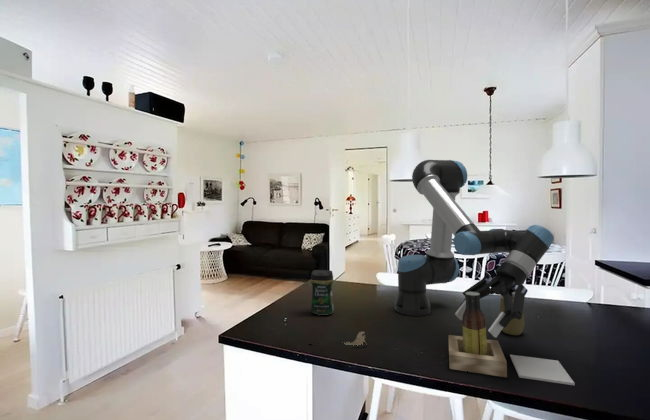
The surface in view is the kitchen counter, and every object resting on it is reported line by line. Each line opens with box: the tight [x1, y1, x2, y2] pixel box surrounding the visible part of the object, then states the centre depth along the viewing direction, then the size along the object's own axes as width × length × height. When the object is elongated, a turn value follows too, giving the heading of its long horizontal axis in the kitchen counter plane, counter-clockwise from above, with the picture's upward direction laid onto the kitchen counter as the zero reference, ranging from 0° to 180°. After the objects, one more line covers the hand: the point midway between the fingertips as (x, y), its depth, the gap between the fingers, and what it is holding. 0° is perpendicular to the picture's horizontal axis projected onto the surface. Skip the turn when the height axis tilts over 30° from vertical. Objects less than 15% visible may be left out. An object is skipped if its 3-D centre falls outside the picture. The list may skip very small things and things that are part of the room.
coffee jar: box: [310, 269, 335, 314], centre depth 135 cm, size 10×8×19 cm
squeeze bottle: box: [498, 292, 525, 336], centre depth 111 cm, size 8×8×18 cm
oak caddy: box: [448, 334, 508, 378], centre depth 92 cm, size 14×14×4 cm
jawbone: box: [344, 331, 367, 346], centre depth 104 cm, size 9×20×2 cm, turn 107°
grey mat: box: [509, 354, 575, 386], centre depth 86 cm, size 12×12×1 cm
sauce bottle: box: [461, 292, 487, 356], centre depth 92 cm, size 6×6×20 cm
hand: (473, 325), depth 91 cm, fingers open, 13 cm apart
